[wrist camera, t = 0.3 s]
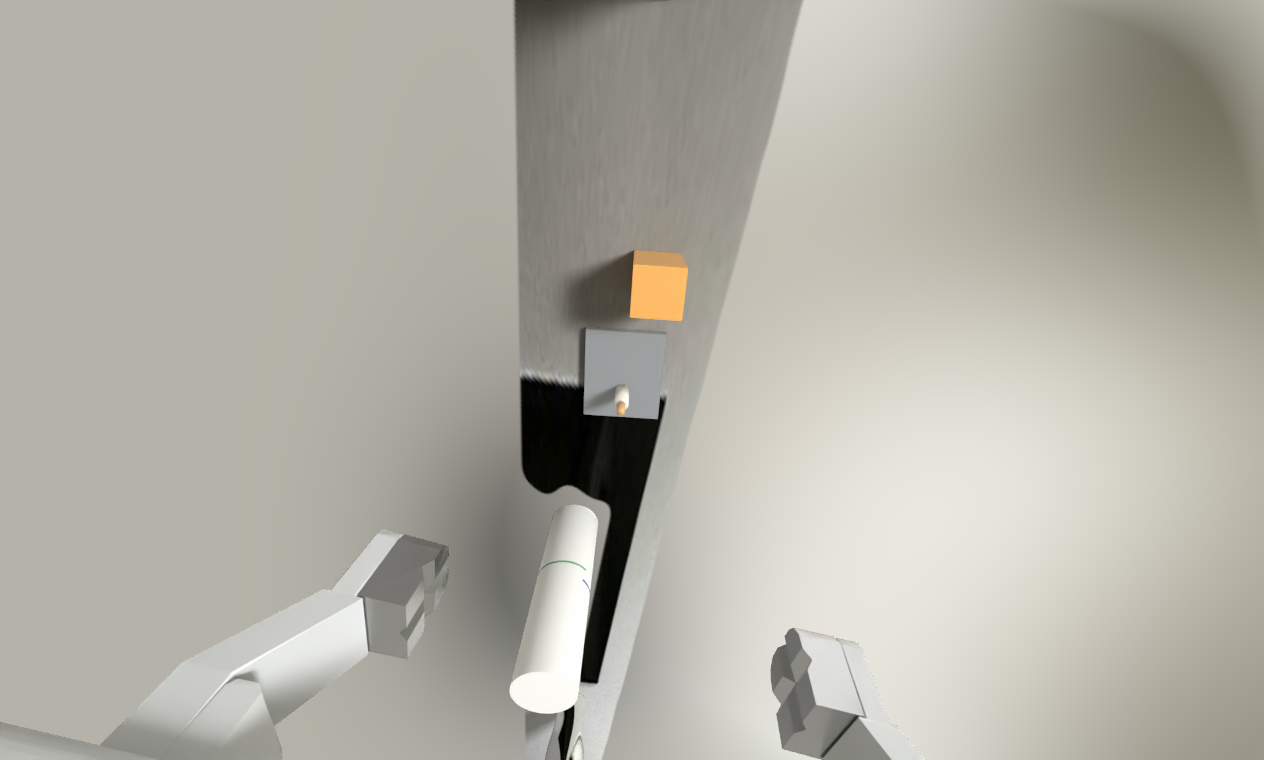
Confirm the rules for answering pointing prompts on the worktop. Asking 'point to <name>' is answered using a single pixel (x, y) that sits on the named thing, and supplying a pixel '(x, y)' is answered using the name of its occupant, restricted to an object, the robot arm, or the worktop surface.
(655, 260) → the orange rectangular block
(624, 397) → the tan-tipped white capsule
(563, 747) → the beer glass
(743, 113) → the worktop surface
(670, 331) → the worktop surface
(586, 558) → the cylindrical container
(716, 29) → the worktop surface
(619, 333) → the plate
